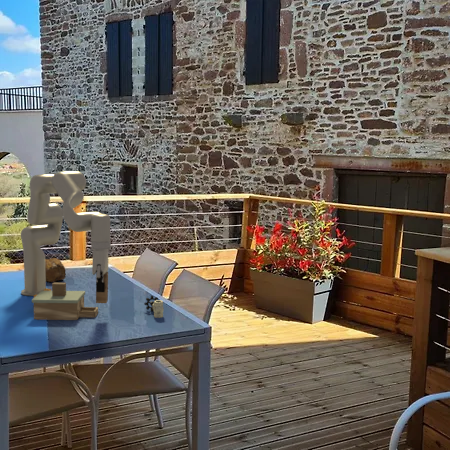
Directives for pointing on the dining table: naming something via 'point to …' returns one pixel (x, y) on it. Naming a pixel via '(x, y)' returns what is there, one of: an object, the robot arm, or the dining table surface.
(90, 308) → the toolbox
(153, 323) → the dining table surface
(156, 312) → the valve
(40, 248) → the robot arm
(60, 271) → the petrified wood
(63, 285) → the lid
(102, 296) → the brown rectangular block
